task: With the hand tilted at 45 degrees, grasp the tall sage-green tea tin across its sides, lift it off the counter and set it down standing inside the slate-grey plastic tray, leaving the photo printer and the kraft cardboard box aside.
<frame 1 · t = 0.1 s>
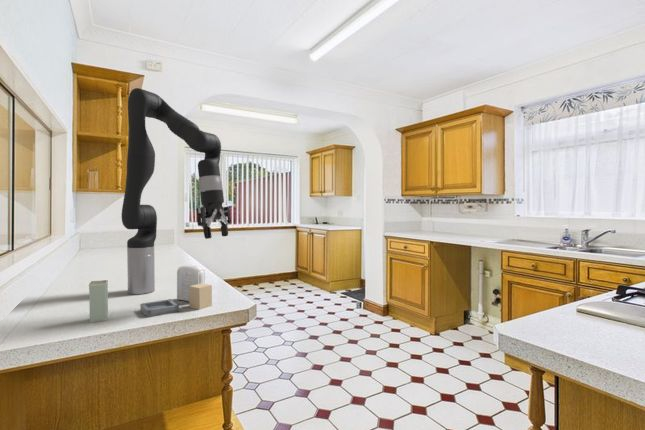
hand: (216, 237, 122), 22 cm above the countertop, tool pointing down, fingers open, 8 cm apart
photo printer: (191, 300, 126), on the countertop
tea tin: (99, 319, 105), on the countertop
kraft box: (200, 306, 118), on the countertop
slate tray: (159, 310, 113), on the countertop
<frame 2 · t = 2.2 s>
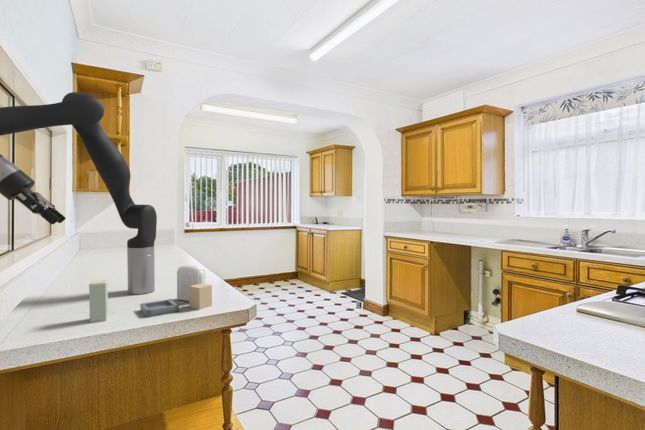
hand: (59, 221, 100), 29 cm above the countertop, tool tilted 45°, fingers open, 8 cm apart
nothing on the countertop moved.
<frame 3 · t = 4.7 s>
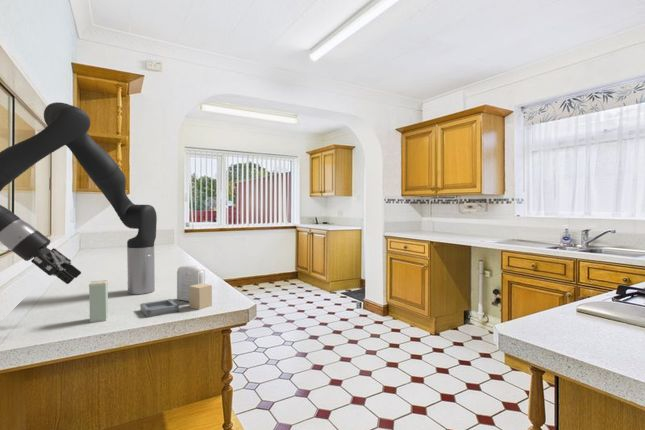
hand: (75, 278, 102), 13 cm above the countertop, tool tilted 45°, fingers open, 8 cm apart
nothing on the countertop moved.
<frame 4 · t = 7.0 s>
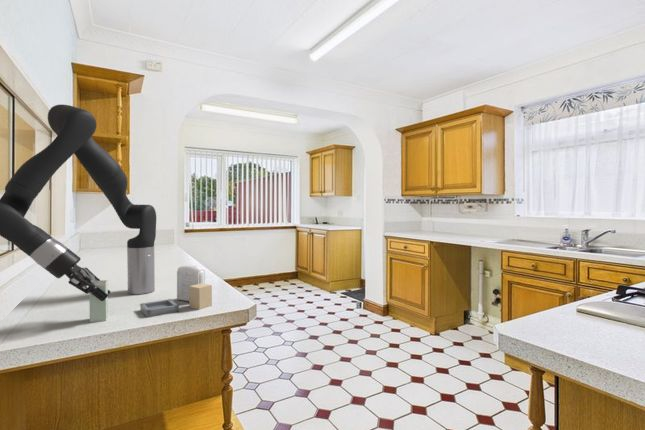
hand: (106, 296, 105), 7 cm above the countertop, tool tilted 45°, fingers closed on tea tin, 4 cm apart
tea tin: (99, 319, 105), on the countertop, touching gripper
everything else where it was.
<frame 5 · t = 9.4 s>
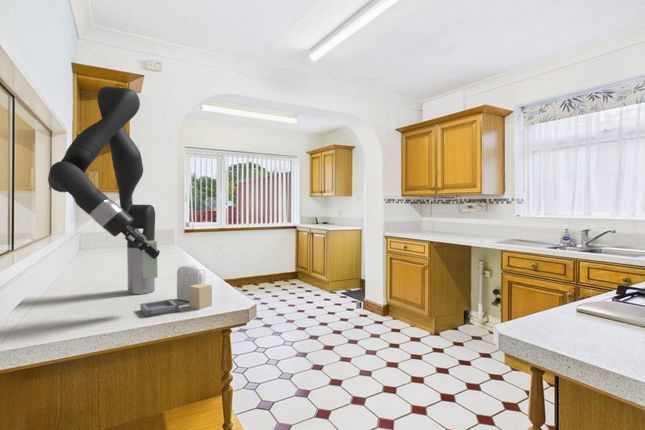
hand: (157, 255, 112), 18 cm above the countertop, tool tilted 45°, fingers closed on tea tin, 4 cm apart
tea tin: (150, 276, 112), point 11 cm above the countertop, touching gripper
everything else where it was.
when the fingers open (8 cm above the countertop, at t = 11.8 s): tea tin drops 1 cm, resting on slate tray.
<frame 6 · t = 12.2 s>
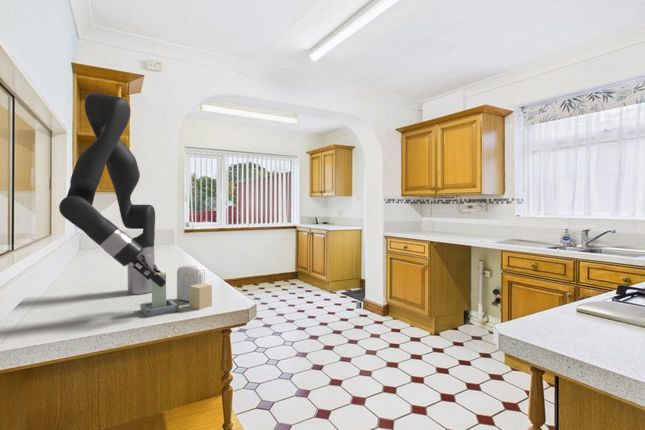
hand: (164, 281, 113), 9 cm above the countertop, tool tilted 45°, fingers open, 8 cm apart
tea tin: (159, 308, 113), point 1 cm above the countertop, touching slate tray
everything else where it was.
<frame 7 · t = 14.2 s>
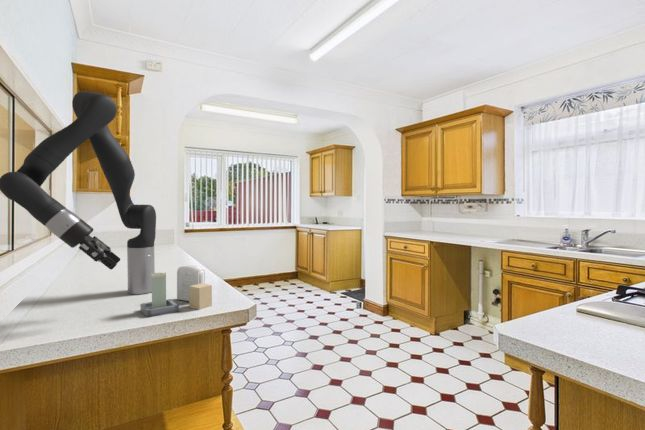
hand: (116, 264, 108), 15 cm above the countertop, tool tilted 45°, fingers open, 8 cm apart
nothing on the countertop moved.
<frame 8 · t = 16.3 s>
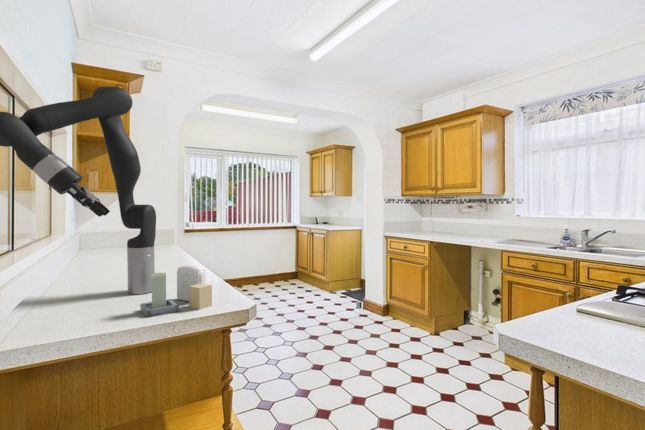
hand: (105, 214, 107), 31 cm above the countertop, tool tilted 45°, fingers open, 8 cm apart
nothing on the countertop moved.
at the end: tea tin inside the target area on the slate tray (0.0 cm from its centre), point 0.8 cm above the slate tray's base; tea tin tilted 0°; the gripper is holding nothing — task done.
